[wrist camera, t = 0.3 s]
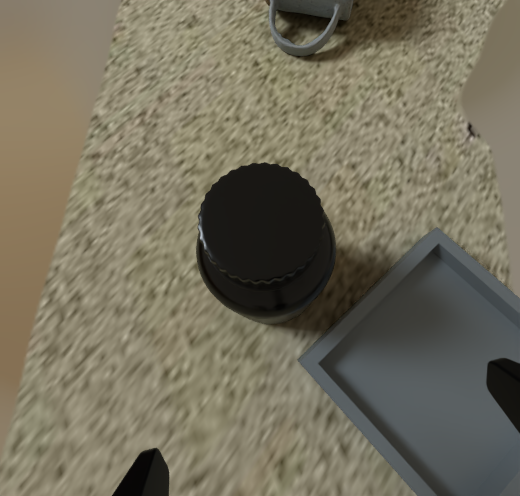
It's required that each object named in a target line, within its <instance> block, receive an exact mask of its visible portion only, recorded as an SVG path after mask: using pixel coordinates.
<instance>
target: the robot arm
mask: <svg viewBox="0 0 520 496" xmlns="http://www.w3.org/2000/svg"><path fill="white" fill-rule="evenodd" d="M486 385H487V388H488V391H489V392H490V394H491V395H492V397H493V398H494V399H495V401H496V402H497V404H498V405H499V406H500V408H501V409H502V410H503V412H504V413H505V414H506V416H507V417H508V419H509V420H510V421H511V423H512V424H513V425H514V427H515V428H516V429H517V431H518V432H519V433H520V363H518V362H515V361H513V360H510V359H508V358H499V359H495V360H491V361H489V362H488V364H487V377H486ZM112 496H169V470H168V466H167V464H166V462H165V460H164V458H163V457H162V455H161V453H160V451H159V449H157V448H153V449H149V450H145V451H143V452H141V453H140V454H139V456H138V457H137V459H136V460H135V462H134V463H133V465H132V466H131V468H130V469H129V471H128V472H127V474H126V475H125V477H124V478H123V480H122V481H121V483H120V484H119V486H118V487H117V489H116V490H115V492H114V493H113V495H112Z"/></svg>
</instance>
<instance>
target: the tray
mask: <svg viewBox="0 0 520 496" xmlns="http://www.w3.org/2000/svg"><path fill="white" fill-rule="evenodd" d="M499 358H508V359H510V360H513V361H515V362H518V363H520V298H519V297H517V296H516V295H515V294H514V293H513V292H512V291H510V290H509V289H508V288H507V287H506V286H505V285H504V284H502V283H501V282H500V281H499V280H498V279H497V278H495V277H494V276H493V275H492V274H491V273H490V272H488V271H487V270H486V269H485V268H484V267H483V266H481V265H480V264H479V263H478V262H477V261H476V260H474V259H473V258H472V257H471V256H470V255H469V254H468V253H466V252H465V251H464V250H463V249H462V248H461V247H459V246H458V245H457V244H456V243H455V242H454V241H452V240H451V239H450V238H449V237H448V236H447V235H445V234H444V233H443V232H442V231H441V230H440V229H439V228H435V229H434V230H432V231H431V232H429V233H428V234H426V235H425V236H423V237H422V238H421V239H420V240H419V241H418V242H417V243H416V244H415V245H414V246H413V247H412V248H411V249H410V250H409V251H408V252H407V253H406V254H405V255H404V256H403V257H402V258H401V259H400V260H399V261H398V262H397V263H396V264H395V265H394V266H393V267H392V268H391V269H390V270H389V271H388V272H386V273H385V274H384V275H383V276H382V277H381V278H380V279H379V280H378V281H377V282H376V283H375V284H374V285H373V286H372V287H371V288H370V289H369V290H368V291H367V292H366V293H365V294H364V295H363V296H362V297H361V298H360V299H359V300H358V301H357V302H356V303H355V304H354V305H353V306H352V307H351V308H350V309H349V310H348V311H347V312H346V313H345V314H344V315H343V316H342V317H341V318H340V319H339V320H338V321H337V322H335V323H334V324H333V325H332V326H331V327H330V328H329V329H328V330H327V331H326V332H325V333H324V334H323V335H322V336H321V337H320V338H319V339H318V340H317V341H316V342H315V343H314V344H313V345H312V346H311V347H310V348H309V349H308V350H307V351H306V352H305V353H304V354H303V355H302V356H301V357H300V358H299V359H298V361H299V362H300V364H301V365H302V366H303V367H304V368H305V369H306V370H307V371H308V373H309V374H310V375H311V376H312V377H313V378H314V379H315V381H316V382H317V383H318V384H319V385H320V386H321V387H322V388H323V390H324V391H325V392H326V393H327V394H328V395H329V396H330V397H331V399H332V400H333V401H334V402H335V403H336V404H337V405H338V406H339V408H340V409H341V410H342V411H343V412H344V413H345V414H346V415H347V417H348V418H349V419H350V420H351V421H352V422H353V423H354V425H355V426H356V427H357V428H358V429H359V430H360V431H361V432H362V434H363V435H364V436H365V437H366V438H367V439H368V440H369V441H370V443H371V444H372V445H373V446H374V447H375V448H376V449H377V450H378V452H379V453H380V454H381V455H382V456H383V457H384V458H385V459H386V461H387V462H388V463H389V464H390V465H391V466H392V467H393V469H394V470H395V471H396V472H397V473H398V474H399V475H400V476H401V478H402V479H403V480H404V481H405V482H406V483H407V484H408V485H409V487H410V488H411V489H412V490H413V491H414V492H415V493H416V494H417V496H520V433H519V432H518V431H517V429H516V428H515V427H514V425H513V424H512V423H511V421H510V420H509V419H508V417H507V416H506V414H505V413H504V412H503V410H502V409H501V408H500V406H499V405H498V404H497V402H496V401H495V399H494V398H493V397H492V395H491V394H490V392H489V391H488V388H487V385H486V377H487V364H488V362H489V361H491V360H495V359H499Z"/></svg>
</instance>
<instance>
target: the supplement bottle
mask: <svg viewBox="0 0 520 496" xmlns="http://www.w3.org/2000/svg"><path fill="white" fill-rule="evenodd" d="M198 219H199V224H198V230H199V234H198V238H197V246H196V256H197V263H198V268H199V271H200V274H201V277H202V279H203V281H204V283H205V284H206V286H207V288H208V289H209V290H210V292H211V293H212V294H213V295H214V296H215V297H216V298H217V299H218V300H219V301H220V302H221V303H222V304H223V305H225V306H226V307H228V308H229V309H231V310H233V311H234V312H236V313H238V314H240V315H242V316H244V317H246V318H248V319H250V320H253V321H255V322H259V323H264V324H278V323H283V322H286V321H289V320H291V319H293V318H295V317H297V316H298V315H300V314H301V313H302V312H303V311H304V310H305V309H306V308H307V307H308V306H309V305H310V304H311V303H312V302H313V301H314V300H315V299H316V298H317V297H318V295H319V294H320V293H321V292H322V290H323V289H324V287H325V286H326V284H327V282H328V280H329V278H330V276H331V274H332V271H333V268H334V264H335V258H336V241H335V235H334V231H333V228H332V225H331V223H330V221H329V219H328V217H327V215H326V213H325V212H324V210H323V208H322V207H321V199H320V198H319V197H318V196H317V195H316V191H315V189H314V188H313V187H312V186H310V185H309V182H308V180H306V179H304V178H302V177H301V176H300V174H299V173H297V172H293V171H291V170H290V169H289V168H288V167H281V166H279V165H278V164H268V163H265V162H264V163H261V164H257V163H252V164H250V165H248V166H241V167H239V168H238V169H236V170H231V171H230V172H229V173H228V174H227V175H224V176H222V177H221V178H220V179H219V181H218V182H216V183H215V184H213V185H212V187H211V190H210V191H209V192H208V193H206V195H205V200H204V201H203V202H202V204H201V211H200V213H199V215H198Z"/></svg>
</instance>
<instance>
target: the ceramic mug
mask: <svg viewBox="0 0 520 496" xmlns="http://www.w3.org/2000/svg"><path fill="white" fill-rule="evenodd" d="M265 1H266V3H267V4H268V5H269V6H270V9H269V23H270V29H271V33H272V36H273V39H274V41H275V43H276V44H277V45H278V47H280V48H281V49H282V50H283V51H284V52H286V53H288V54H291V55H295V56H307V55H311V54H313V53H315V52H317V51H318V50H320V49H321V48H322V47H323V46H324V45H325V44H326V43H327V42H328V40H329V39H330V37H331V35H332V34H333V32H334V30H335V27H336V25H337V23H338V19H339V20H348V19H349V18H350V13H351V10H352V5H353V0H265ZM277 9H278V10H281V11H286V12H295V13H304V14H308V15H313V16H319V17H325V18H332V19H331V21H330V23H329V25H328V26H327V28H326V30H325V31H324V32H323V33H322V34H321V35H320V36H319V37H317V38H316V39H314V40H313V41H312V42H311V43H308V44H306V45H303V46H301V45H300V46H299V45H295V44H293V43H291V42H290V41H289V40H288V39H285V38H283V37H282V36H281V34H279V33H278V32H277V30H276V27H275V16H276V11H277Z"/></svg>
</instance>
